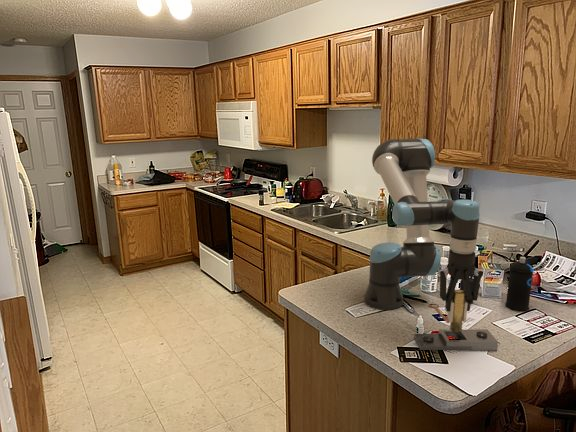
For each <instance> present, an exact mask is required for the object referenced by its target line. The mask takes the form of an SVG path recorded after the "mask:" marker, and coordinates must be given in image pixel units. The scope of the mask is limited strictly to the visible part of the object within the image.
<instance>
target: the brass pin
mask: <svg viewBox="0 0 576 432" xmlns="http://www.w3.org/2000/svg"><path fill="white" fill-rule="evenodd" d="M464 300H465V292H464V291H462V290H460V289H455V291H454V295H453V298H452V301H453V303H454V309H453V321H452V322H449V330H451V331H454V332H461V331H462V330H463V323H464V322H463V311H464Z"/></svg>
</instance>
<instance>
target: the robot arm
mask: <svg viewBox="0 0 576 432" xmlns="http://www.w3.org/2000/svg"><path fill="white" fill-rule="evenodd" d="M372 153H373V154H372V157H371V163H372V167H373V169H374V171H375V173H376V174H378V175H380V177H381V179H382V182H383V184H384V185H385V188H386V189H387V192H388V194H389V196H390V198H391V200H392V202H393V206H392V220H393V222H394V224H395V225H396V226H406V239H404V241H403V243H402V244H403V246H401V244H399V243H397V242H390V241H389V242H381V243H379V244H376V245H373V246H372V248H371V249H370V254H369V259H368V260H369V277H368V278H369V282H368V284H367V287H366V290H365V293H364V295H363V296H364V299H363V302H364V303H365V304H366V305H367V306H368V305H369V307H370V306H371V308H373V307H374V308H373V309H376V308H378V309H377V310H382V311H383V310H384V311H386V310H387V311H391V310H396V309H400V308H402V306H403V305H404V295H403V292H402V289H401V285H400V282H401V280H400V279H401V278H410V277H429V276H430V277H431V276H434V275H435V274H437V272H438V274H439V298H440V299H441V300H442V301H443V302H445V307H444V308H445V311H446V312H447V316H446V317H447V318H448V320H449V321H450V322H452V321H453V309H454V303H453V301H452V298H453V295H454V291H455V290H456V288H457V287H456V286H457V284H458V283H459V281H461V279H462V280H463V287H464V292H465V300H464V311H463V322H462V323H466V322H467V312H470V310H471V304H473V303H472V301H473V302H474V301H477V300H478V296H479V290H480V285H481V279H482V277H483V275H484V271H483V270H482V269H480V268H476V266H475V262H476V250H477V242H478V241H477V239H478V231H479V222H480V215H481V214H480V204H479V202H478V201H475V200H471V199H456V200H453V199H452V198H451V199H449V198H440V199H438V200H437V201H435V200H434V201H428V185H427V176H428V174H429V173H431V169H432V168H434V166H435V161H436V151H435V147H434V145H433V144H432V142H431V141H430V140H429V139H426V138H417V137H416V138H399V139H396V138H391V139H386V140H385V141H383V142H381V143H380V144H378V146H377V147H376V148H375V150H374V151H373V152H372ZM432 225H436V226H437V225H448V226H450V227H451V228H450V239H449V240H450V241H449V249H450V250H449V252H448V262H447V265H446V267H445V268H443V269H442V268H441V261H442V254H441V249H440V247H439V246H437V245H436V244H435V241H434V240H433V239H432V238H431V236H430V234H431V233H430V226H432ZM448 273H449V274H450V277H449V284H448V288H447V276H448ZM472 273H473V283H472V290H471V292H470V276H471V275H472ZM450 322H449V323H450Z"/></svg>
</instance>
